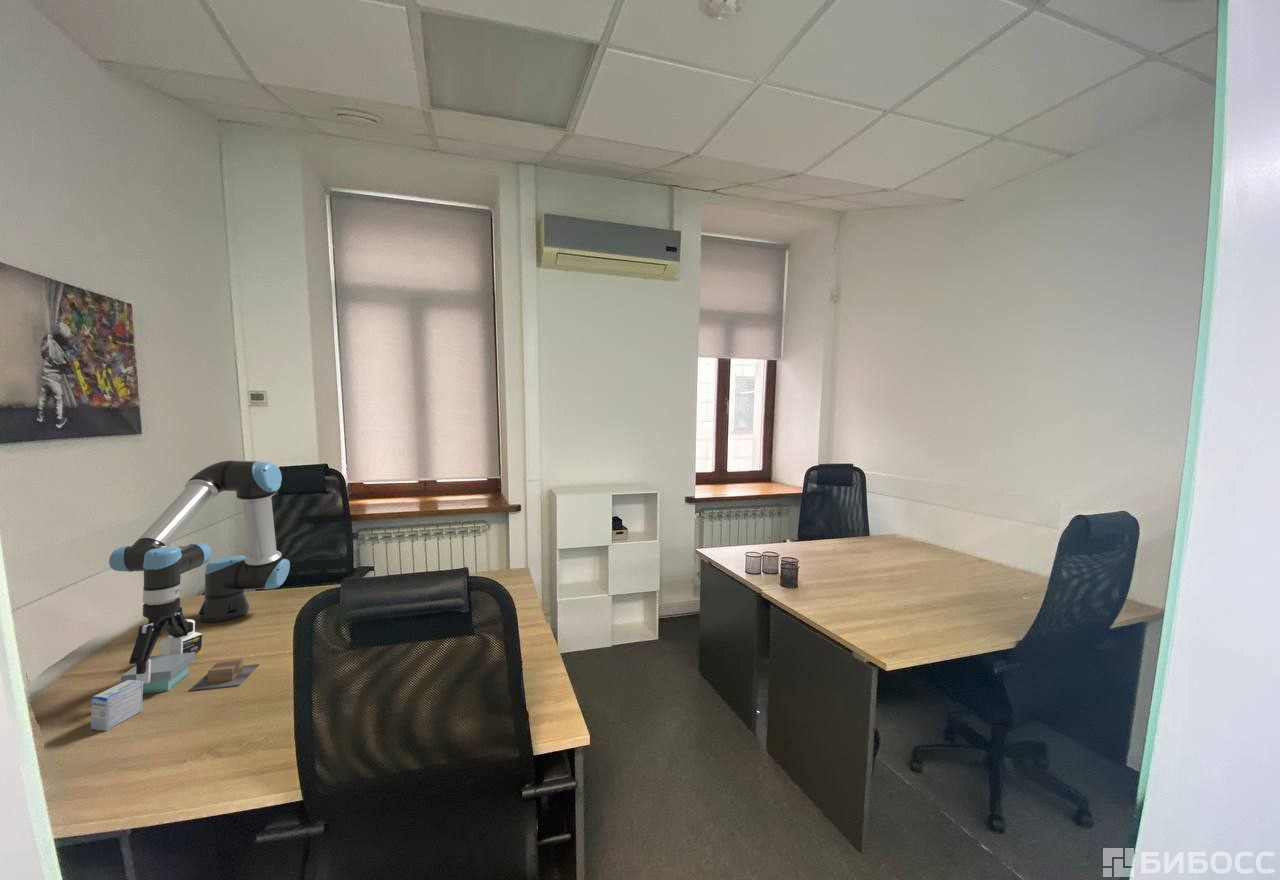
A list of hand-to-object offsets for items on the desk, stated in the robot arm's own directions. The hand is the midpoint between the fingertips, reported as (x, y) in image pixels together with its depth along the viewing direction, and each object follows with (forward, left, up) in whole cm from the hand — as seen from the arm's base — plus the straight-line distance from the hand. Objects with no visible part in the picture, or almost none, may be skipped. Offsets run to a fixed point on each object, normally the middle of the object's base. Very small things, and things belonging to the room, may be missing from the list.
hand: (160, 670), depth 132 cm
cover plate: (0, 0, 0) cm, 0 cm away
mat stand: (0, +16, -4) cm, 17 cm away
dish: (0, 0, -4) cm, 4 cm away
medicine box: (+17, +1, -4) cm, 18 cm away
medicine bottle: (-17, -4, -4) cm, 18 cm away
